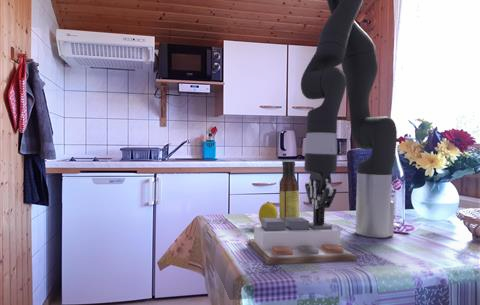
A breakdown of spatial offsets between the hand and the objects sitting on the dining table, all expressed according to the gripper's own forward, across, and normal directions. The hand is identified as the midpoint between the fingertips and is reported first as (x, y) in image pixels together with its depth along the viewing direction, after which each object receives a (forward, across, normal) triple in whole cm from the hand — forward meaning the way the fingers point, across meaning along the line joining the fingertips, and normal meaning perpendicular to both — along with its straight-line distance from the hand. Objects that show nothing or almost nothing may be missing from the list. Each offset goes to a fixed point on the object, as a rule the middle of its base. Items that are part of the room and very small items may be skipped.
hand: (318, 224), depth 84 cm
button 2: (+3, 0, +6) cm, 6 cm away
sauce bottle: (+6, +28, -3) cm, 29 cm away
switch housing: (+6, 0, +6) cm, 8 cm away
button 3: (+3, 0, +11) cm, 12 cm away
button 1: (+4, 0, 0) cm, 4 cm away
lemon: (+6, +21, +6) cm, 23 cm away
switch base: (+6, -2, +6) cm, 8 cm away
